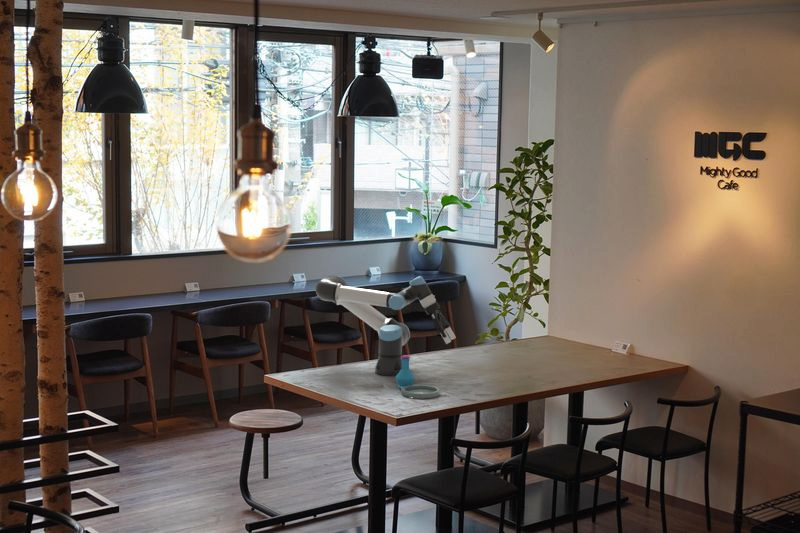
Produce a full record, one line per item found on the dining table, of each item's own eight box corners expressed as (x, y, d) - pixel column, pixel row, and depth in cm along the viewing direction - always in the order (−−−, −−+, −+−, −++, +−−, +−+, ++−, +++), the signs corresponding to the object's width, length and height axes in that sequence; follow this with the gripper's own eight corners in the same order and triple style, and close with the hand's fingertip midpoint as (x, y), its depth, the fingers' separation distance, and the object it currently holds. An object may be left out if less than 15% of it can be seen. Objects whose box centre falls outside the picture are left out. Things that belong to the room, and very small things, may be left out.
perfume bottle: (408, 390, 483) (408, 358, 481) (391, 387, 488) (392, 356, 486) (418, 386, 490) (418, 355, 489) (401, 383, 495) (402, 353, 494)
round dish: (398, 397, 469) (398, 392, 468) (406, 388, 486) (406, 383, 485) (435, 399, 465) (435, 394, 465) (442, 391, 482) (442, 386, 482)
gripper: (431, 303, 511) (453, 340, 510) (441, 298, 535) (461, 333, 534) (418, 311, 513) (440, 348, 511) (429, 305, 537) (449, 340, 536)
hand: (451, 340), depth 523 cm, fingers open, 13 cm apart
